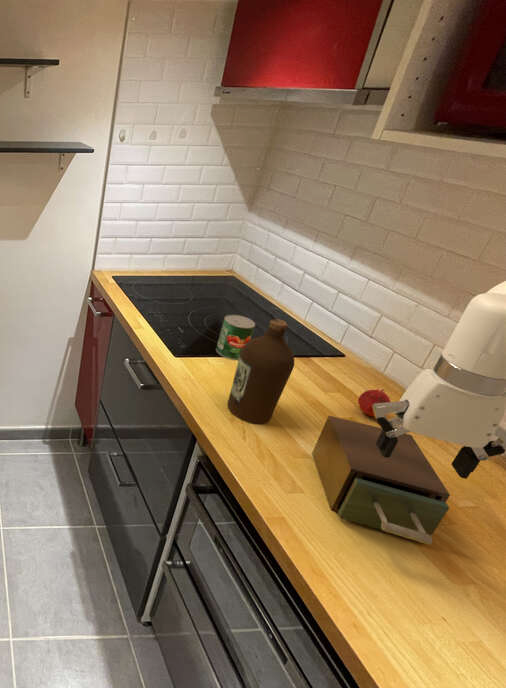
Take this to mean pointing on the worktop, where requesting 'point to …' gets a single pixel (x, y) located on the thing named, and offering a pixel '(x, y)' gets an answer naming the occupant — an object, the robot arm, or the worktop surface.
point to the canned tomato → (234, 336)
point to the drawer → (392, 508)
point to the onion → (372, 400)
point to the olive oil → (261, 375)
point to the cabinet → (370, 460)
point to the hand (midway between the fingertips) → (419, 461)
